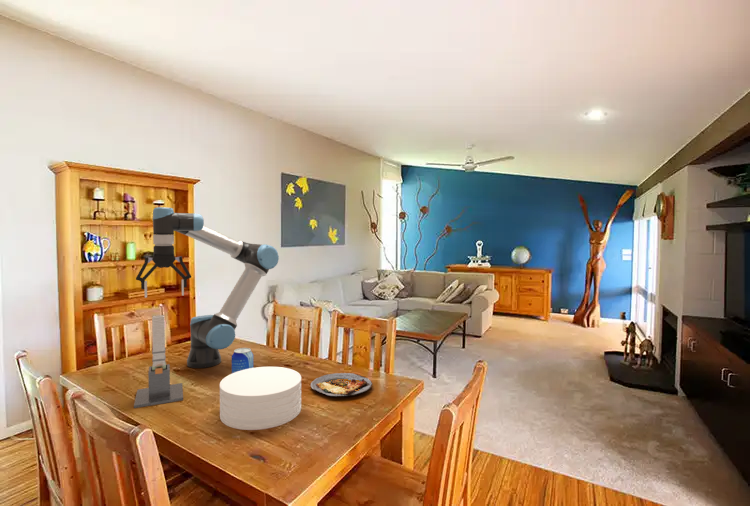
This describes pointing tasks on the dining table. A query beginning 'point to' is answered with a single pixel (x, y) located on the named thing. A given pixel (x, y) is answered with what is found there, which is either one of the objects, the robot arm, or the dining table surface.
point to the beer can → (242, 359)
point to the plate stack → (260, 397)
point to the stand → (159, 389)
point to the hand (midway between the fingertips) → (164, 296)
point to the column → (158, 342)
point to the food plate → (341, 384)
